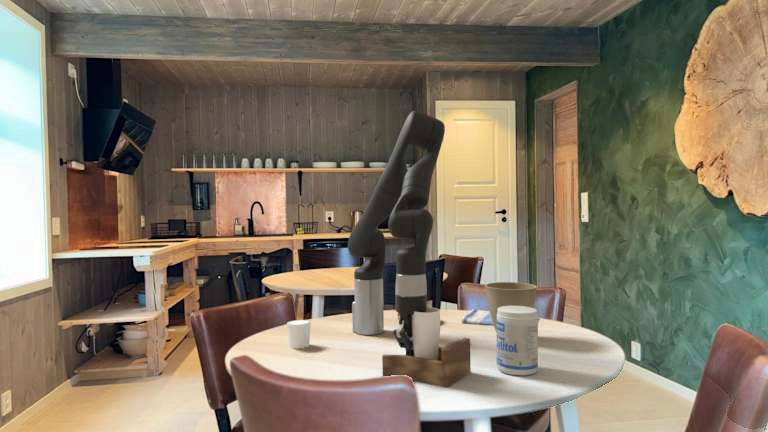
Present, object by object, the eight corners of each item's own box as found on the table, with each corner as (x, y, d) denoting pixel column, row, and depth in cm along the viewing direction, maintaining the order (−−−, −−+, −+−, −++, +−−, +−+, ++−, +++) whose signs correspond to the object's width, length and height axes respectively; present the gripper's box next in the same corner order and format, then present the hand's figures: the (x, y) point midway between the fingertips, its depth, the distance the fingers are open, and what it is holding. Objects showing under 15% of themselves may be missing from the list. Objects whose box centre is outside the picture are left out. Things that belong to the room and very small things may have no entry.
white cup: (315, 343, 145) (315, 320, 145) (304, 350, 138) (303, 325, 138) (294, 342, 147) (294, 318, 147) (282, 348, 141) (282, 323, 141)
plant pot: (506, 347, 137) (505, 290, 137) (476, 336, 151) (475, 284, 151) (548, 341, 143) (547, 286, 143) (515, 330, 157) (515, 280, 157)
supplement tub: (489, 371, 117) (488, 309, 117) (507, 361, 124) (506, 303, 124) (528, 379, 111) (527, 314, 111) (545, 369, 118) (544, 307, 118)
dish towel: (471, 315, 185) (471, 307, 185) (537, 319, 175) (536, 311, 175) (459, 324, 169) (459, 316, 169) (530, 330, 159) (530, 321, 159)
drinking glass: (438, 378, 112) (438, 313, 112) (409, 376, 114) (408, 312, 114) (442, 369, 119) (441, 307, 119) (414, 367, 121) (414, 306, 120)
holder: (380, 377, 114) (380, 342, 114) (414, 359, 127) (413, 329, 127) (444, 390, 105) (443, 352, 105) (473, 370, 118) (473, 336, 118)
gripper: (411, 286, 126) (411, 354, 126) (382, 295, 115) (383, 368, 115) (437, 289, 122) (437, 359, 122) (410, 298, 111) (410, 374, 111)
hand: (411, 363), depth 119 cm, fingers closed
